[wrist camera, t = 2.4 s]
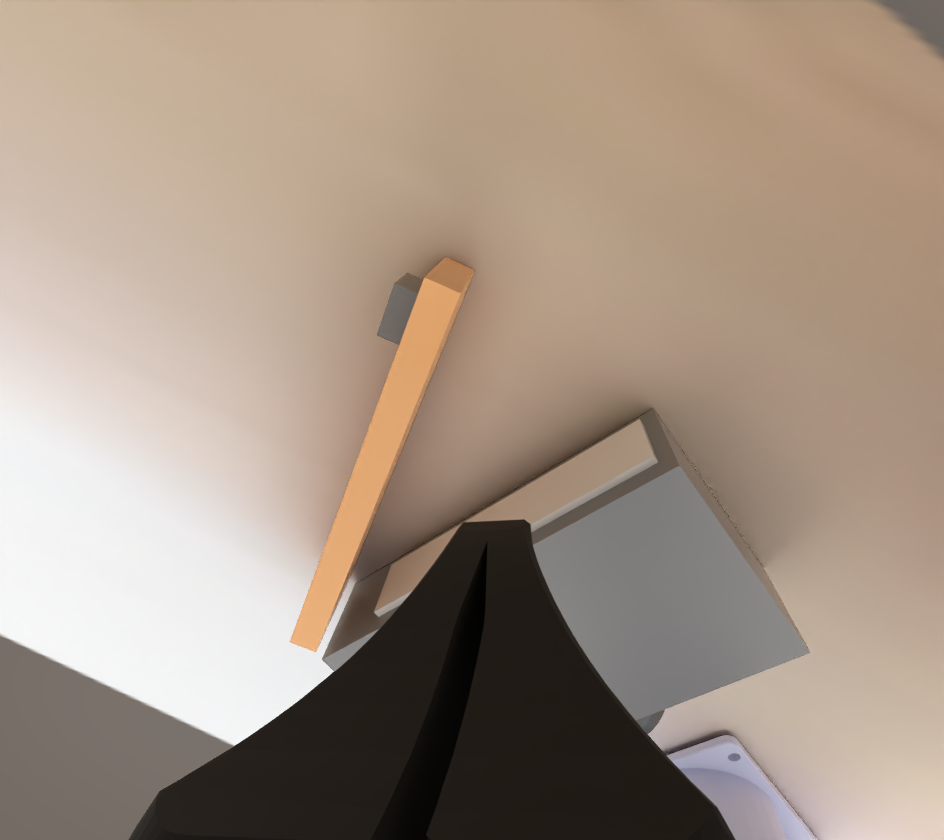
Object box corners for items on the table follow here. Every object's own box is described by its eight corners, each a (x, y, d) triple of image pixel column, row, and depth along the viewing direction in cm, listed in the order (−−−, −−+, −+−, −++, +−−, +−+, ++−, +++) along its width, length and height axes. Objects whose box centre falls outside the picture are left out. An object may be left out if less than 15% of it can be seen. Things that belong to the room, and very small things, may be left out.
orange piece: (474, 270, 18) (460, 293, 14) (346, 586, 23) (316, 652, 20) (421, 246, 17) (395, 264, 14) (305, 569, 23) (268, 633, 20)
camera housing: (778, 590, 22) (827, 676, 18) (486, 717, 26) (478, 806, 23) (649, 402, 19) (674, 458, 15) (351, 579, 24) (317, 655, 20)
